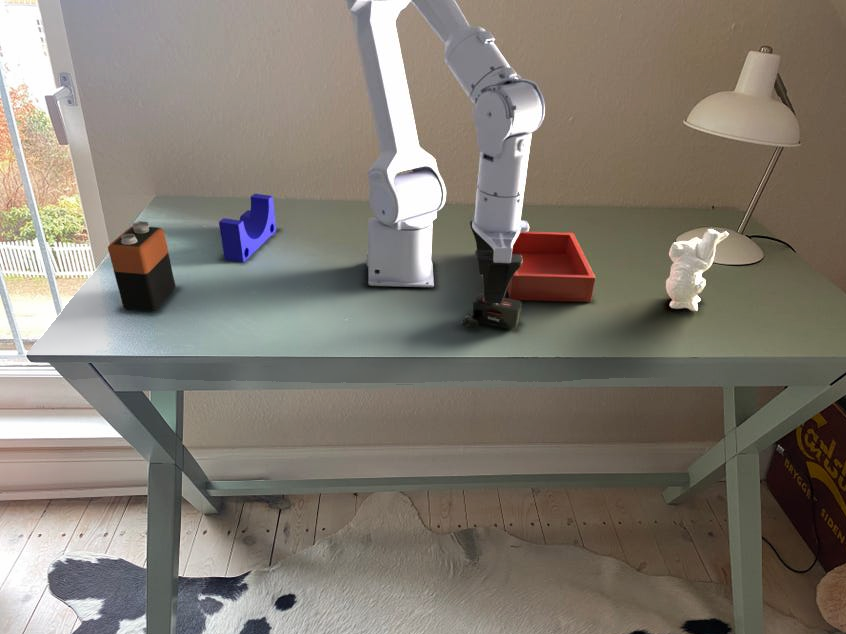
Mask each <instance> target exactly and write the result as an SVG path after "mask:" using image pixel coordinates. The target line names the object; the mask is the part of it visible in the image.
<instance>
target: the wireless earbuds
mask: <svg viewBox="0 0 846 634" xmlns="http://www.w3.org/2000/svg"><path fill="white" fill-rule="evenodd" d="M521 309H522V302H521V300H513V299H510V298H509V297H504V298H503V301H502V303H501V304H492V303H486V302H485V298H484V292H483V293H482V292H477V293H476V294H475V295H474V297H473V299H472V308H471V315H469V314H467V315H465V318H464V319H462V321H461V323H460V324H461V326H469V327H472V328H476V327H478V326H479V323H480V324H485V325H489V326H495V327H500V328H504V329H508V330H515V329H516V328H517V326H518V325H519V322H520V316H521Z"/></svg>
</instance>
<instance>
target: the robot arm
mask: <svg viewBox="0 0 846 634" xmlns="http://www.w3.org/2000/svg"><path fill="white" fill-rule="evenodd" d="M345 1H346V6H347V9H348V10H349V11H350V16H351V17H350V18H351V21H352V26H353V31H354V35H355V39H356V40H355V41H356V45H357V49H358V53H359V58H360V63H361V67H362V73H363V77H364V80H365V86H366V90H367V95H368V100H369V104H370V109H371V114H372V118H373V123H374V129H375V134H376V137H377V141H378V146H379V152H380V154H379V155H378V157H377V158H376V160H375V161H374V162H373V163H372V165H371V166H370V167H369V169H368V171H367V178H368V183H369V191H368V201H369V205H370V209H371V211H372V213H373V215H374V216H375V217H368V221H367V222H368V223H367V254H366V267H367V269H368V271H367V272H368V280H367V281H368V283H367V284H368V285H369V286H370V287H407V288H433V287H434V286H435V283H434V282H435V279H434V268H433V267H434V265H433V261H432V245H433V221H434V220H436V219H437V218H438V217H437V215H438V213H437V212H439V211H440V210H441V209H442V208H443V207H444V205H445V203H446V198H447V189H446V186H445V183H444V179H443V178H442V176H441V174H440V172H439V169H438V166H437V161H436V158H435V157H434V156H433V155H431V154H430V153H428V152H427V151H425V149H423V148H422V147H421V146H420V144H419V139H418V132H417V128H416V127H417V126H416V122H415V117H414V111H413V106H412V101H411V96H410V91H409V86H408V83H407V82H408V81H407V76H406V71H405V67H404V61H403V56H402V51H401V45H400V40H399V35H398V31H397V30H398V29H397V26H396V25H397V24H396V20H397V19H398V16H399V14H400V12H401V11H402V10H403V9H405V8H406V7H407V6H408V5H409V4H410V3H411V4H412V5H413V6H414V7H415V9H416V10H417V11H418V13H419V14H420V15H421V16H422V17H423V19H424V20H425V21H426V22H427V24H428V26H430V28H431V29H432V30H433V32H435V34H436V35H437V36H438V38H439V39H440V40H441V41H442V43H444V44H443V45H445V46H444V54H443V60H444V63H445V64H446V66H447V67H448V70H449V71H450V72H451V73H452V75H453V76H454V79H456V81H457V83H458V84H459V85H460V87H461V88H462V90H463V91H464V93H465V95H466V96H467V98H468V99H469V100H470V101H471V103H472V105H473V106H472V107H471V115H472V116H471V117H472V121H473V125H474V128H475V130H476V134H477V142H476V145H477V147H478V151H479V159H478V160H479V161H478V171H477V185H476V194H475V195H476V196H475V205H474V206H475V208H474V216H473V219H472V220H469V225H470V229H471V232H472V234H473V236H474V241H475V244H476V245H475V246H476V250H475V257H476V262H477V266H478V272H479V275H481V276H482V288H483V289H482V290H483V294H484V298H485V302H486V303H492V304H501V303H502V301H503V298H505V296H506V293H507V292H508V290H507V288H508V285H509V283H510V281H511V279H512V277H513V275H514V274H515V272H516V271H517V270H518V269H519V268H520V267H521V265H522V262H523V259H522V256H521V255H517V254H512V246H513V244H514V243H515V241H516V239H517V237H518V235H519V233H520V232H528V231H529V230H530V225H529V222H528V221H527V220H522V219H521V218H522V211H523V204H524V194H525V188H526V180H527V171H528V163H529V156H530V148H531V141H532V133H534V132H535V131H537V130H538V129H539V128H540V127H541V125H542V124H543V121H544V119H545V115H546V104H545V99H544V96H543V94H542V92H541V90H540V88H539V85H538V84H537V83H536V82H535V81H533V80H531V79H528V78H522V76H521V75H520V74H518V73H517V71H515V69H514V68H513V67H512V66H511V65H510V64H509V62H508V61H507V60H506V58H505V57H504V55H503V54H502V53H501V51H500V49H499V48H498V46H497V45H496V44H495V43H494V41H495V37H494V35H493V34H492V33H491V31H490V30H486V29H485V28H483V27H481V26H475V25H474V26H471V25H470V24H469V21H468V20H467V19H466V17H465V15H464V13H463V12H462V10H461V9H460V7H459V5H458V3H457V2H456V0H345ZM410 170H411V171H410ZM404 171H410V172H405V173H401V172H404ZM399 173H400V174H399ZM529 232H530V231H529Z"/></svg>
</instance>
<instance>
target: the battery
mask: <svg viewBox="0 0 846 634" xmlns="http://www.w3.org/2000/svg"><path fill="white" fill-rule="evenodd" d="M165 233H166V232H165V229H164V228H162V227H157V226H150V225H149V221H144V220H143V221H142V220H139V221H137V222H133V223H131V226H130V227H129V228H127V229H126V230H125V231H124V232H122V233H121V234H120V235H119V236H118V237H117V238H115V239H114V241H112V242H111V243H110V244H109V245H108V246H107V251H108V255H109V259H110V262H111V266H112V270H113V273H114V277H115V280H116V285H117V288H118V292H119V296H120V300H121V304H122V307H123V309H124V310H130V311H141V312H156V311H158V309H159V308H160V307H161V306H162V304H163V303H164V302H165V301H166V300H167V299H168V298H169V297H170V295H171V294H172V293H173V292H174V291H175V290H176V283H175V277H174V273H173V267H172V263H171V257H170V253H169V248H168V244H167V238H166V234H165Z"/></svg>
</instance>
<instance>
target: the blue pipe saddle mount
mask: <svg viewBox="0 0 846 634" xmlns="http://www.w3.org/2000/svg"><path fill="white" fill-rule="evenodd" d="M276 225H277V224H276V217H275V206H274V197H273V195H269V194H261V193H253V194H252V195H251V196H250V210H249V209H247V210H246V211H245V212H243V213H242V214H241V215H240V217H239V219H232V218H226V217H223V218H222V219H220V220H219V221H218V226H219V233H220V239H221V246H222V252H223V259H224V260H225V261H233V262H239V263H245V261H247V260H248V259H249V258H250V257H251V256H252V255H253V254H254V253H255V252H256V251H257V250H258V249H259V248H260V247H261V246H263V244H265V243H266V242H267V241H268V239H270V238H271V236H272V235H274V234H275V233H276V232H277V226H276Z"/></svg>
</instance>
